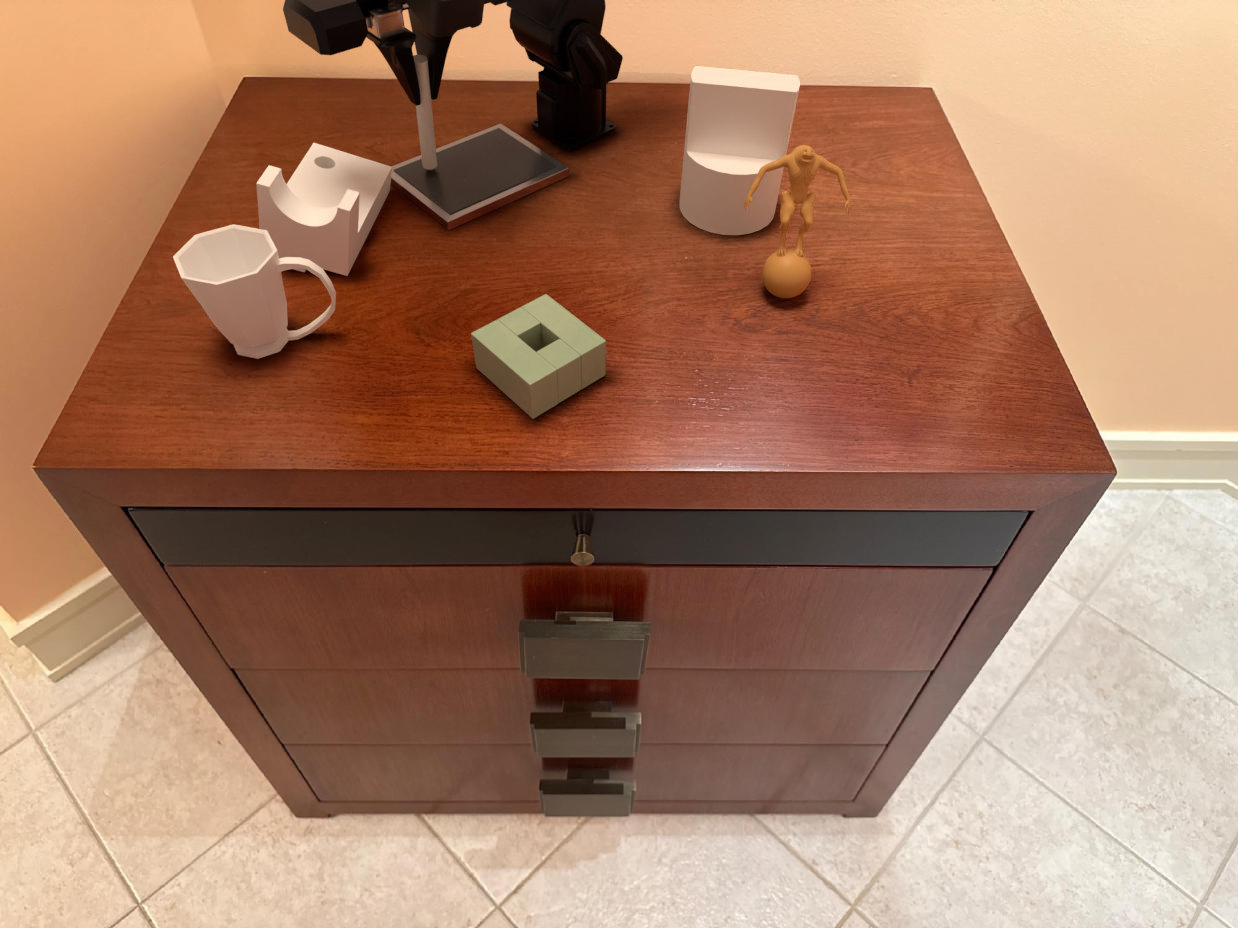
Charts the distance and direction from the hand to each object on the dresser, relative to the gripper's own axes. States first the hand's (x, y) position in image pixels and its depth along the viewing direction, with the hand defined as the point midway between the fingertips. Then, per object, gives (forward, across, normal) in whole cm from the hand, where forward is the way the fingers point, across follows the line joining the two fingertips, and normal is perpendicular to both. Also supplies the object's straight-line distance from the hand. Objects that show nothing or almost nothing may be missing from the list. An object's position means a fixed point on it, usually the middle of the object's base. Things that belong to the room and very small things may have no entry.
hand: (424, 101), depth 71 cm
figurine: (+8, +14, -32) cm, 35 cm away
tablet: (+8, +3, -2) cm, 9 cm away
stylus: (+7, 0, +1) cm, 7 cm away
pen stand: (+8, -8, -27) cm, 29 cm away
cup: (+8, -22, -11) cm, 25 cm away
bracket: (+8, -11, -1) cm, 14 cm away
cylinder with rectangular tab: (+8, +19, -21) cm, 29 cm away
